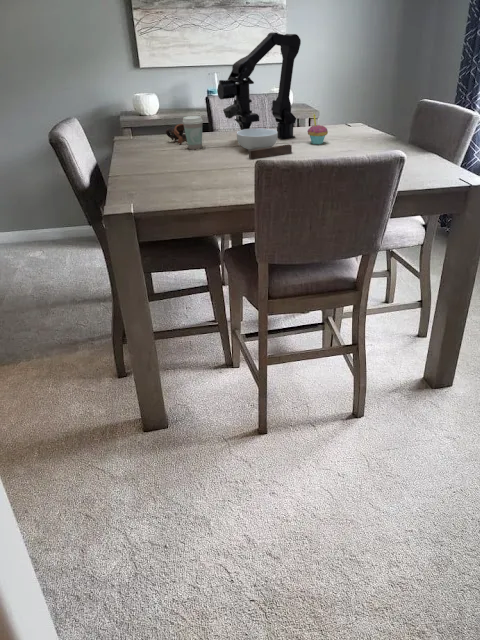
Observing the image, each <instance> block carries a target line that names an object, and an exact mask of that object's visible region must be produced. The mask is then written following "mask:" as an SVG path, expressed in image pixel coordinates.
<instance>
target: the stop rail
mask: <svg viewBox="0 0 480 640" xmlns="http://www.w3.org/2000/svg"><path fill="white" fill-rule="evenodd" d="M292 148H293V145H291V144H281V145H274V146H272V147H267V148H260V149H253V150H249V151H248V159H249V160H255V159H262V158H266V157H267V158H268V157H269V158H270V157H275V156H283V155H288V154H289V155H290V154H292V153H293V152H292Z"/></svg>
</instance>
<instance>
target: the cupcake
mask: <svg viewBox="0 0 480 640" xmlns="http://www.w3.org/2000/svg"><path fill="white" fill-rule="evenodd" d="M313 124H314V125H312V126H310V127H309V128H308V129H307V134H308V137H309V139H310V142H311V144H312V145H322V144H323V143H324V140H325V138H326V136H327V135H328V133H329V131H328V128H327V127H326V126H324V125H320V124H317V120H316V114H315V112H313Z"/></svg>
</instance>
